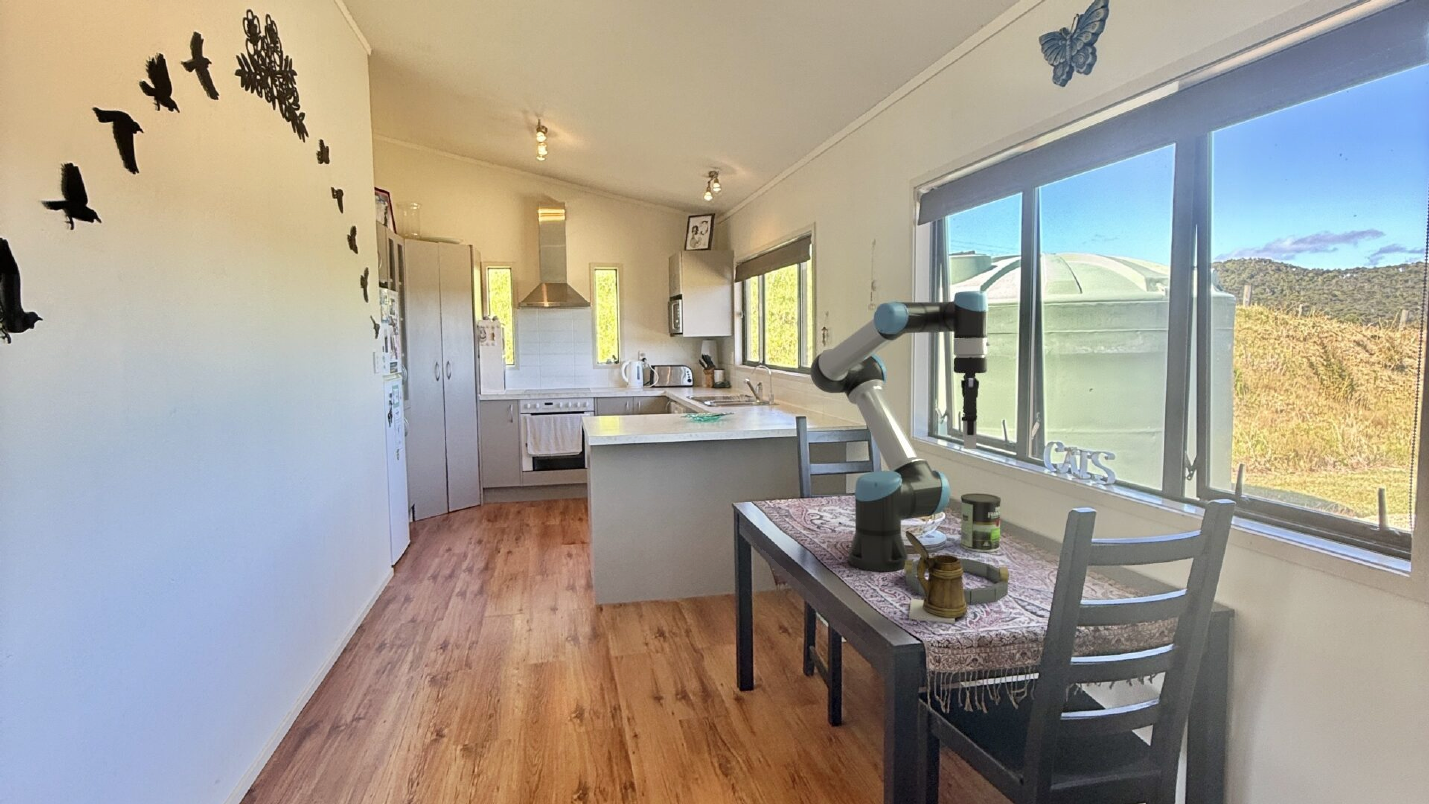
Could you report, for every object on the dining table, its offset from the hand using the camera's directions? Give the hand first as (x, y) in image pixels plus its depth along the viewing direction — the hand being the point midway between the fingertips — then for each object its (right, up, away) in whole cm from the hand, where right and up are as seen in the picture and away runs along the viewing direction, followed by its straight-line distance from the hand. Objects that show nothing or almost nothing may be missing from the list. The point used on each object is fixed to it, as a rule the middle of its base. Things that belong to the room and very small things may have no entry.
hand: (969, 444), depth 164 cm
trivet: (-15, -35, -19) cm, 42 cm away
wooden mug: (-15, -35, -20) cm, 42 cm away
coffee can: (+12, -30, +25) cm, 41 cm away
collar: (-4, -33, -3) cm, 34 cm away
